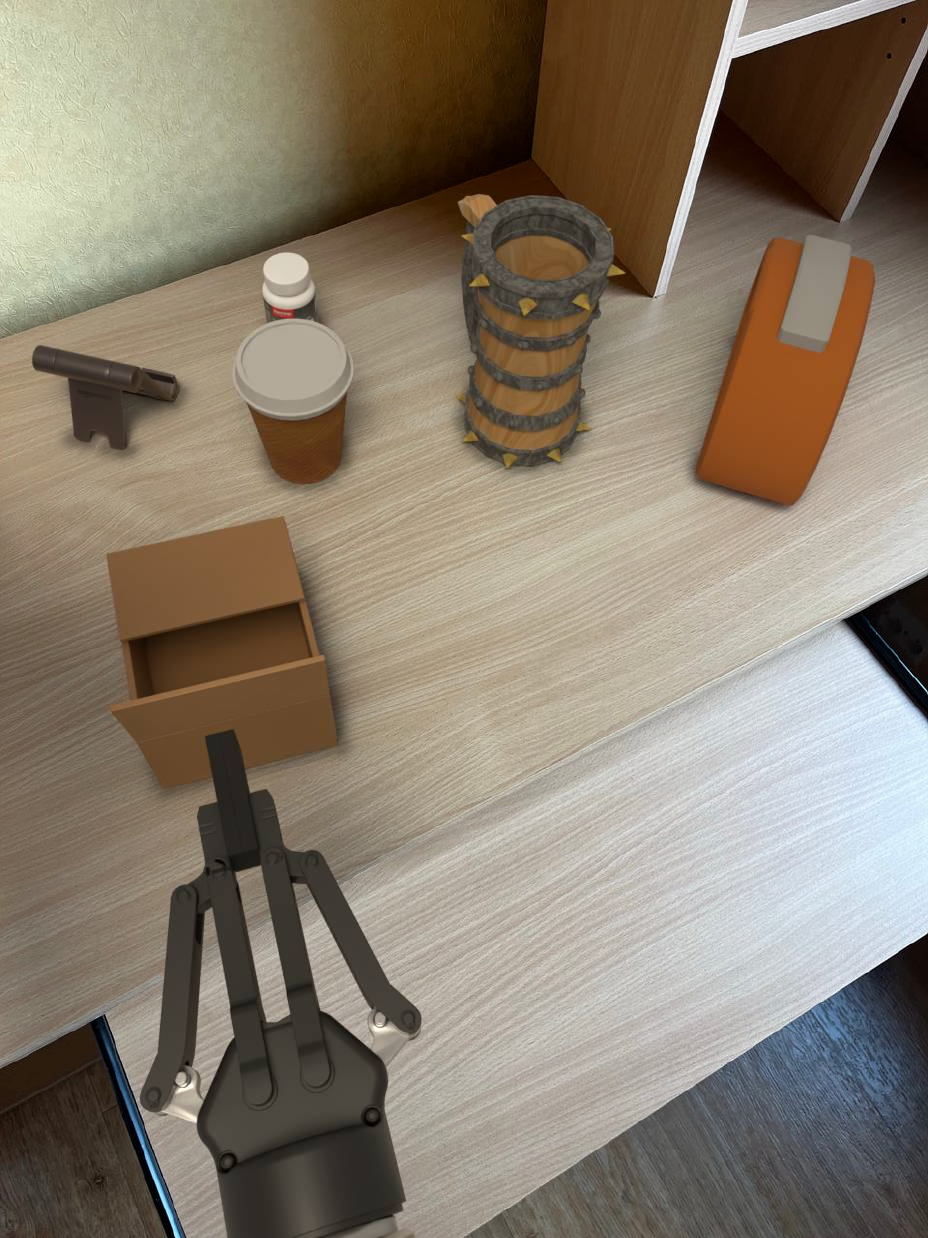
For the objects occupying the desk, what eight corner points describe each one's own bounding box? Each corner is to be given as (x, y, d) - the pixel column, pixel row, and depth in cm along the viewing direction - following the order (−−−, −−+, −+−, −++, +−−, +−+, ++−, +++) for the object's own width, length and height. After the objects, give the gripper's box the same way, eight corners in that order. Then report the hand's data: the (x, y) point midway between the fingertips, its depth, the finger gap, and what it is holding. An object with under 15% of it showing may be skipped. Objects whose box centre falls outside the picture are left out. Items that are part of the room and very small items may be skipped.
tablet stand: (182, 390, 96) (162, 322, 89) (148, 456, 92) (125, 390, 85) (91, 370, 97) (64, 300, 90) (53, 434, 93) (22, 367, 86)
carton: (296, 581, 86) (283, 514, 78) (338, 745, 79) (329, 690, 71) (135, 617, 84) (105, 552, 76) (163, 789, 77) (133, 738, 69)
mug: (498, 499, 91) (517, 328, 74) (400, 369, 98) (396, 185, 81) (620, 441, 95) (665, 266, 78) (516, 320, 102) (536, 134, 85)
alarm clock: (741, 315, 103) (793, 166, 89) (832, 340, 102) (900, 193, 88) (686, 497, 92) (735, 360, 78) (787, 527, 91) (857, 394, 76)
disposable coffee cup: (292, 517, 89) (275, 424, 79) (229, 447, 93) (205, 349, 82) (382, 463, 93) (377, 366, 82) (318, 397, 96) (306, 296, 86)
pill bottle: (275, 360, 98) (263, 291, 91) (265, 324, 100) (253, 254, 93) (325, 351, 99) (317, 281, 92) (314, 315, 101) (306, 245, 94)
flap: (323, 654, 65) (325, 660, 64) (328, 688, 71) (329, 694, 71) (109, 705, 62) (110, 711, 62) (134, 736, 69) (135, 741, 69)
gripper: (184, 1293, 46) (114, 799, 57) (468, 1197, 49) (348, 740, 60) (146, 1304, 40) (76, 745, 51) (476, 1193, 42) (340, 681, 53)
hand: (223, 743), depth 55 cm, fingers closed
